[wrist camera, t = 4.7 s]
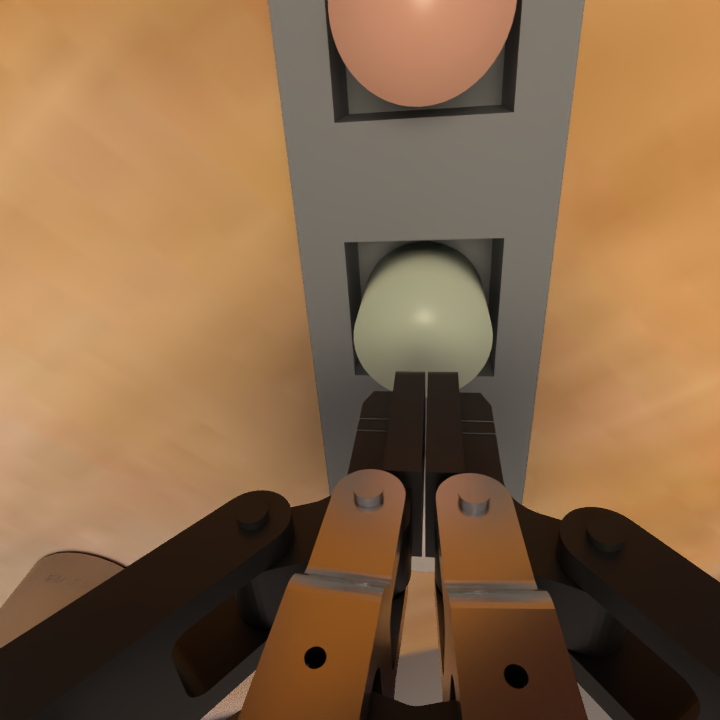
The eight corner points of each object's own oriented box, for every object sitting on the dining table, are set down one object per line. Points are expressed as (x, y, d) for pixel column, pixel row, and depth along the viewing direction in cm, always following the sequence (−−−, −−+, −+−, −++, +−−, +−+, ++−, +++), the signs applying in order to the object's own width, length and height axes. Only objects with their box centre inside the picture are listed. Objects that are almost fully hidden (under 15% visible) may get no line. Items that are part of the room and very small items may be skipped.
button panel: (503, 501, 26) (514, 567, 23) (349, 495, 28) (337, 557, 24) (569, -165, 14) (614, -238, 11) (287, -129, 15) (244, -184, 12)
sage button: (480, 350, 19) (488, 398, 16) (368, 350, 20) (358, 396, 17) (486, 239, 17) (497, 273, 14) (361, 243, 18) (348, 276, 15)
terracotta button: (496, 94, 15) (510, 101, 12) (353, 103, 16) (335, 111, 13) (506, -94, 13) (527, -137, 10) (341, -75, 13) (318, -111, 11)
